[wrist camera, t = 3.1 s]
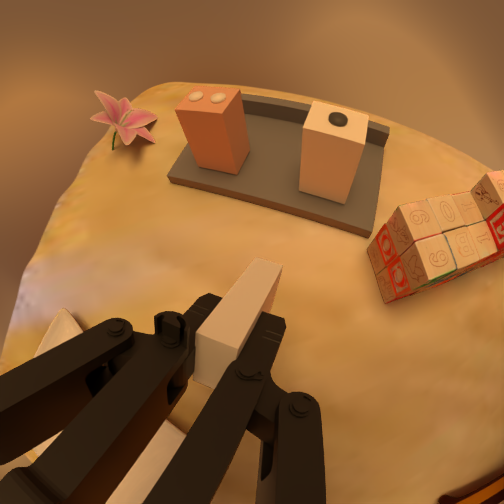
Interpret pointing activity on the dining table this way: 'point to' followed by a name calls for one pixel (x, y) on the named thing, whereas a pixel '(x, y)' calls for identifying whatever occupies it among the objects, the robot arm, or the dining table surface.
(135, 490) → the salad plate
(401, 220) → the stack of blocks
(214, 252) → the dining table surface
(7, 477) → the robot arm
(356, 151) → the key one
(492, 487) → the decorative lantern
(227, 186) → the tray
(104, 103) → the lily
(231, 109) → the key two
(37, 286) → the dining table surface
